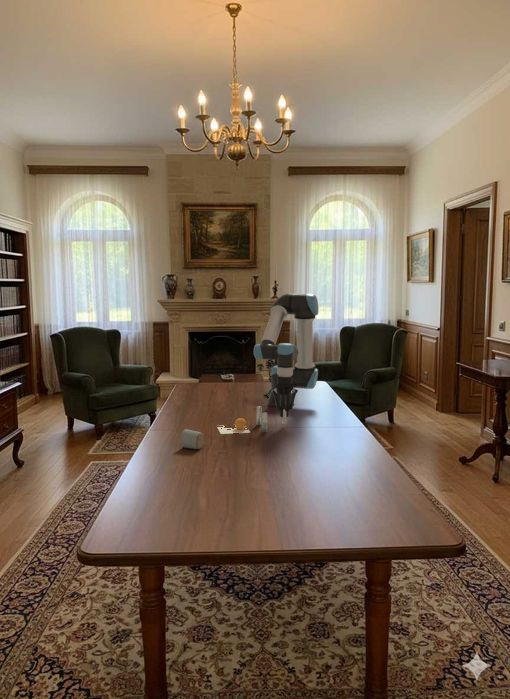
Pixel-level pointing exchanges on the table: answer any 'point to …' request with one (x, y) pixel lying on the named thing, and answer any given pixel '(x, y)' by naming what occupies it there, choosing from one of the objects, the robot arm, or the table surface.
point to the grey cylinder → (191, 439)
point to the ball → (240, 423)
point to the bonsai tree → (267, 370)
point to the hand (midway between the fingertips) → (283, 423)
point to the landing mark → (225, 431)
